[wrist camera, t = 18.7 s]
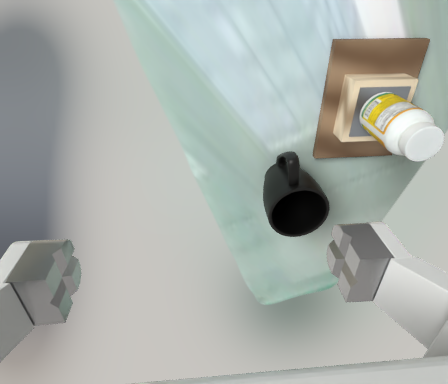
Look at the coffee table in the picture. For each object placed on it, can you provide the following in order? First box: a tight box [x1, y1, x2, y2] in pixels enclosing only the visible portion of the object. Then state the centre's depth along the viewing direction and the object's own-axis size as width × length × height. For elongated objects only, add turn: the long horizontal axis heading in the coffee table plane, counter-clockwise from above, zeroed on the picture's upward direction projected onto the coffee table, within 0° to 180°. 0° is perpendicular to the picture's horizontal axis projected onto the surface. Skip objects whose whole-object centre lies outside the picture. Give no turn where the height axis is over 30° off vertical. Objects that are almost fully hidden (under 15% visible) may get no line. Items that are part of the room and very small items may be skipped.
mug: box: [263, 152, 329, 237], centre depth 44 cm, size 8×12×10 cm
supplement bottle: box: [359, 92, 444, 162], centre depth 36 cm, size 5×5×10 cm
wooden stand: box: [313, 38, 430, 158], centre depth 42 cm, size 16×12×4 cm
